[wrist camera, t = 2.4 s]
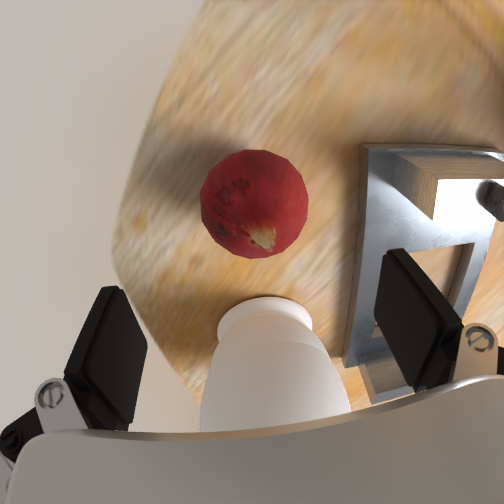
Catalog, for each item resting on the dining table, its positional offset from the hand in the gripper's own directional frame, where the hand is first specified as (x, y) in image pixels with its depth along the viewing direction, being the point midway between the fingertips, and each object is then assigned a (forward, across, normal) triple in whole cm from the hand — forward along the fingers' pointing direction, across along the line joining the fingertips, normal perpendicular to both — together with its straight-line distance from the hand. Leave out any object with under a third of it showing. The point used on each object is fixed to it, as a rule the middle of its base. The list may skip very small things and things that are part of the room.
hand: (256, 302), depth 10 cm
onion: (+11, -1, -1) cm, 11 cm away
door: (+9, -15, -1) cm, 18 cm away
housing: (+11, -15, +8) cm, 20 cm away
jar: (+12, 0, +13) cm, 17 cm away
